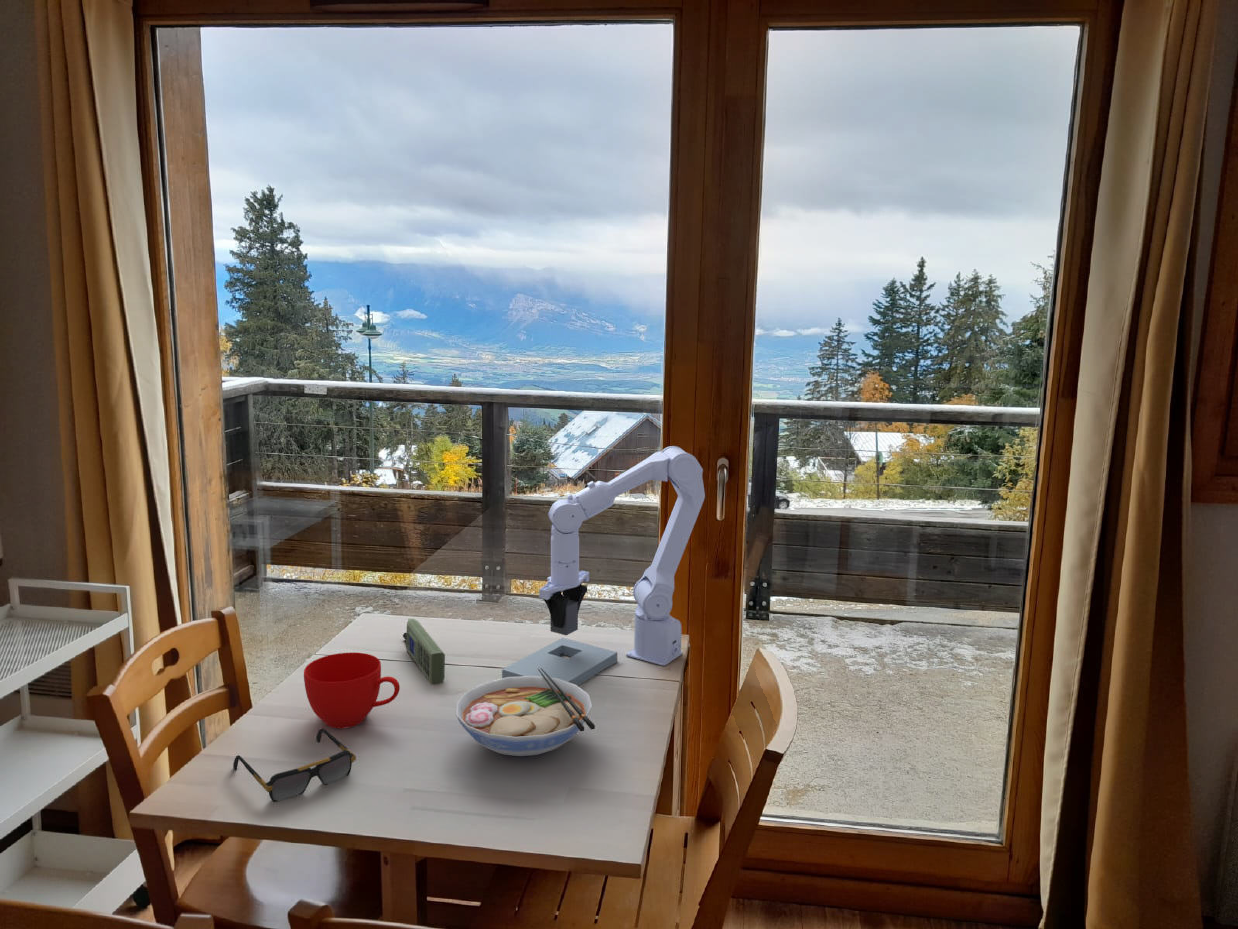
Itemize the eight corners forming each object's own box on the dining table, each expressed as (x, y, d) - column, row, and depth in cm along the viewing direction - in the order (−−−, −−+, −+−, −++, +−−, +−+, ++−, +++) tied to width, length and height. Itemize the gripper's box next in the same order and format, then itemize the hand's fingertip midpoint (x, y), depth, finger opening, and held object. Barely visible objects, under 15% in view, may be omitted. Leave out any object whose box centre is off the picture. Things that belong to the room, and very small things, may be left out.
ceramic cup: (383, 744, 150) (381, 688, 148) (291, 733, 154) (288, 678, 152) (415, 709, 163) (414, 657, 161) (330, 700, 166) (327, 649, 164)
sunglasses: (317, 742, 152) (316, 714, 151) (359, 778, 140) (358, 749, 140) (233, 770, 142) (231, 741, 141) (270, 811, 131) (268, 780, 130)
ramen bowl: (443, 722, 158) (441, 679, 156) (566, 703, 166) (566, 661, 165) (472, 796, 135) (471, 746, 134) (614, 769, 143) (615, 722, 142)
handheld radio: (429, 686, 173) (397, 641, 195) (445, 684, 174) (412, 640, 196) (429, 653, 172) (397, 612, 194) (446, 651, 173) (412, 610, 195)
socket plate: (617, 661, 185) (617, 652, 185) (559, 696, 169) (559, 686, 168) (562, 646, 193) (562, 637, 192) (502, 679, 176) (502, 669, 176)
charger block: (577, 629, 184) (577, 601, 183) (566, 635, 181) (566, 607, 180) (562, 625, 187) (562, 598, 185) (550, 631, 183) (550, 603, 182)
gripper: (569, 548, 189) (569, 609, 192) (526, 564, 177) (527, 629, 180) (597, 553, 185) (597, 615, 188) (555, 571, 173) (555, 637, 176)
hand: (564, 623), depth 184 cm, fingers closed on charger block, 4 cm apart
